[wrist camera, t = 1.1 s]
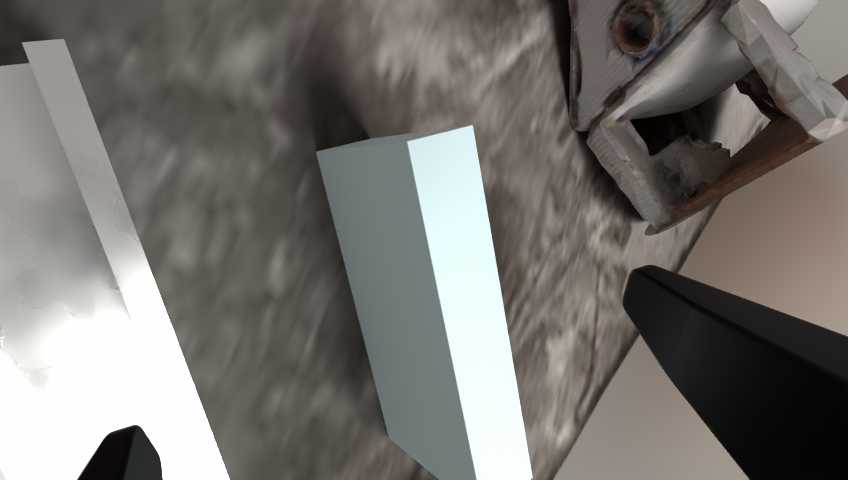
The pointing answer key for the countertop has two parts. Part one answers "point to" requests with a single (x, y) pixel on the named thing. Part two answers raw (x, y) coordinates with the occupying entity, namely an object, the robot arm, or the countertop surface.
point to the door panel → (430, 299)
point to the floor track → (79, 295)
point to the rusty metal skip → (694, 93)
